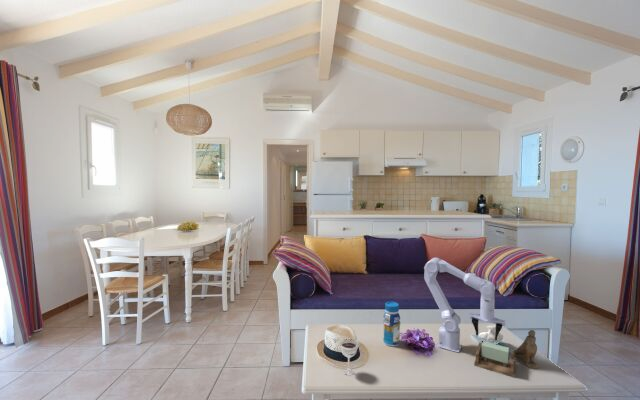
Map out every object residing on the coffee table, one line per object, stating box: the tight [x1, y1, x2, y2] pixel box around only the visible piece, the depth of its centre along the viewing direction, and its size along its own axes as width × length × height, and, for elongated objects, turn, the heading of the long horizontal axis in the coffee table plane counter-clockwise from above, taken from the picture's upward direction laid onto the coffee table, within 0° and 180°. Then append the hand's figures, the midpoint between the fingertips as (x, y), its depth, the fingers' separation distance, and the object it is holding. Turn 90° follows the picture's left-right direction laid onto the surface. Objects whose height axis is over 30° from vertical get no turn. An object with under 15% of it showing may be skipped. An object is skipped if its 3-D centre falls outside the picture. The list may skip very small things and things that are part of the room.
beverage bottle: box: [382, 301, 401, 347], centre depth 153 cm, size 8×8×20 cm
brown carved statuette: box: [513, 329, 539, 370], centre depth 136 cm, size 12×6×18 cm, turn 176°
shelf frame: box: [473, 341, 516, 378], centre depth 134 cm, size 15×12×6 cm
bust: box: [477, 324, 504, 343], centre depth 152 cm, size 12×8×11 cm
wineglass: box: [340, 339, 358, 376], centre depth 128 cm, size 7×7×12 cm
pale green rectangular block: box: [481, 341, 510, 364], centre depth 134 cm, size 10×4×5 cm, turn 56°
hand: (486, 336), depth 141 cm, fingers open, 7 cm apart
